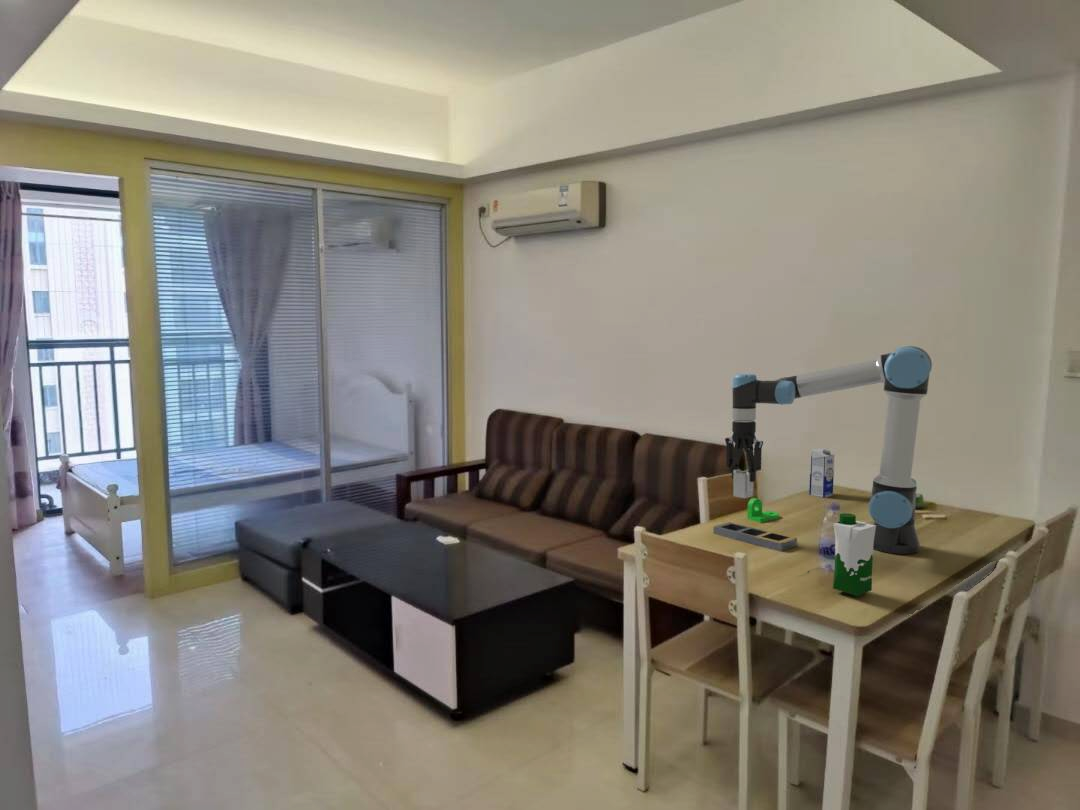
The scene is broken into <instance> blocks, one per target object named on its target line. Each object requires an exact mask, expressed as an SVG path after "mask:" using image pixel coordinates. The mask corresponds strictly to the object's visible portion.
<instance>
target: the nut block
mask: <svg viewBox="0 0 1080 810" xmlns="http://www.w3.org/2000/svg"><path fill="white" fill-rule="evenodd" d="M747 472H748V471H743V470H740V471H739V472H735V473H734V489H733V497H736V498H741V499H747V498H751V497H752V498H753V496H754V490H753V491H750V492H747Z"/></svg>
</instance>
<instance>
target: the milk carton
mask: <svg viewBox="0 0 1080 810" xmlns="http://www.w3.org/2000/svg"><path fill="white" fill-rule="evenodd" d="M834 474H835V454H834V453H832V452H831V451H830V450H828V449H823V448H820V447H818V448H813V449H810V464H809V492H808V494H809V496H811V497H818V498H823V499H825V498H829V497H832V496H834Z"/></svg>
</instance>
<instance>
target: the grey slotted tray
mask: <svg viewBox="0 0 1080 810" xmlns="http://www.w3.org/2000/svg"><path fill="white" fill-rule="evenodd" d="M712 529H713V530H712V531H713V532H712V533H713V534H714V535H718V536H721V537H725V538H727V539H730V540H731V539H732V540H735V541H739V542H743V543H748V544H751V545H755V546H759V547H763V548H766V549H770V550H774V551H778V552H783V551H786V550H789V549H792V548H795V547H797V546H798V537H796V536H791V535H787V534H785V533H784V534H783V533H779V532H775V531H768V530H765V529H759V528H756V527H750V526H747V525H743V524H739V523H735V522H731V521H730V522H725V523H721V524H718V525H715V526H713V528H712Z"/></svg>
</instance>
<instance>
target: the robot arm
mask: <svg viewBox="0 0 1080 810" xmlns="http://www.w3.org/2000/svg"><path fill="white" fill-rule="evenodd" d="M932 365H933V364H932V359H931V356H930V355H929V354H928V353H927V351H925V349H923V348H920V347H917V346H912V345H911V346H909V345H908V346H903V347H900V348H897V349H896V350H894V351H892V352H889V353H886V354H884V353H883V354H880V355H879V356H878V357H877V358H876V359H871V360H866V361H860V362H856V363H851V364H846V365H843V366H842V365H841V366H837V367H832V368H827V369H826V368H825V369H822V370H821V369H820V370H817V371H812V372H807V373H803V374H797V375H792V376H787V377H781V378H779V379H775V380H760V379H759V380H758V379H757V375H756V374H754V373H752V374H751V373H738V374H734V375H733V377H732V379H733V380H732V387H731V389H732V408H731V409H732V411H731V414H732V415H731V417H732V418H731V419H732V420H733V421H732V423H731V424H732V428H731V431H732V435H731V437H725V438H724V440H725V444H726V467H727V468H730V469H731V479H733V480H732V481H733V484H732V485H733V490H734V473H735V472H739V471H741V469H740V466H739V465H740V462H741V456H742V451H744V453H745V455H746V457H745V458H746V462H747V463H746V464H747V466H748V467H747V468H748V470H747V471H746V472H747V492H750V491H753V492H754V482H756V472H759V471H761V470H762V451H763V449H762V447H763V445H764V441H763V440H759V439H757V437H756V432H757V431H756V430H757V428H756V427H757V425H756V424H757V422H756V419H757V404H771V405H782V406H783V405H791V404H793V403H794V401H795V399H800V398H804V397H805V398H806V397H809V396H815V395H816V396H817V395H820V394H826V393H831V392H837V391H843V390H849V389H854V388H859V387H860V388H861V387H865V386H871V385H876V384H881V383H882V384H883V392H884V393H885V394H886V396H887V397H888V399H887V408H886V416H885V425H884V433H883V442H882V443H883V444H882V450H881V457H880V465H879V466H880V467H879V473H878V475H876V476H875V477H874V478H873V481H872V486H871V487H872V489H871V497H870V500H869V502H868V512H869V514H870V517H871V519H872V520H873V524H872V525H876V529H875V535H874V543H873V550H876V551H880V552H884V553H890V554H898V555H899V554H900V555H906V554H907V555H910V554H915V553H919V552H920V540H919V537H918V533H917V529H916V527H915V526H916V525H915V518H916V504H917V503H916V501H917V490H918V487H917V480H916V479H914V478H912V473H913V463H914V457H915V447H916V438H917V430H918V424H919V417H920V416H919V415H920V407H921V400H922V399H923V398H924V397H925V396H927V394H928V389H929V380H930V374H931V370H932V367H933V366H932Z"/></svg>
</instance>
